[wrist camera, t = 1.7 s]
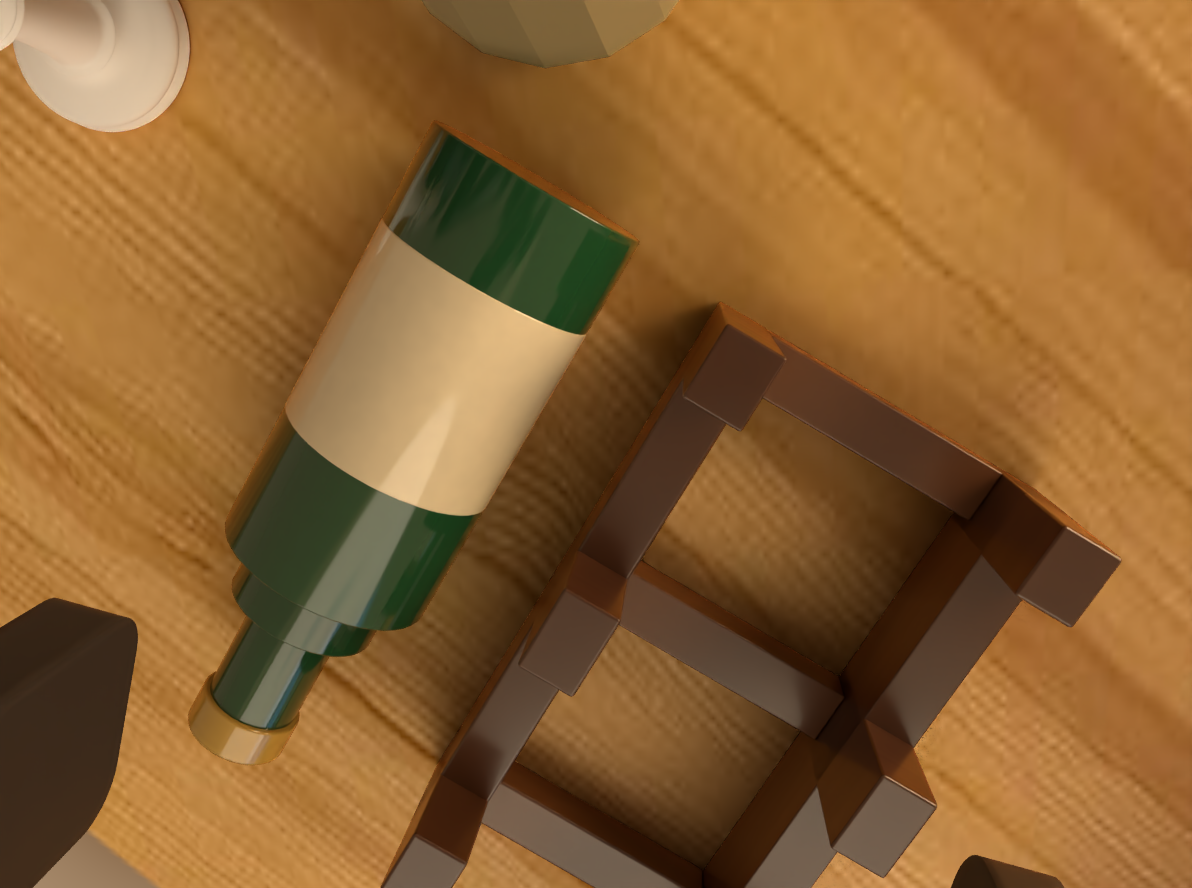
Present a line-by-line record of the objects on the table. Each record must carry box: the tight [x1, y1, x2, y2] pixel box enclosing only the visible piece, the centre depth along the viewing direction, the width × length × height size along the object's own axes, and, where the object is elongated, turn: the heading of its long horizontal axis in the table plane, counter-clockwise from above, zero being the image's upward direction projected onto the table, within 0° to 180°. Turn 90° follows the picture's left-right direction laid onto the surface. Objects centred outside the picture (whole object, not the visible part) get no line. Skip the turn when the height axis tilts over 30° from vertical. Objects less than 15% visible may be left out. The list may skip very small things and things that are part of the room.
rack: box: [381, 302, 1122, 888], centre depth 30 cm, size 11×17×6 cm, turn 150°
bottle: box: [188, 120, 640, 765], centre depth 29 cm, size 18×6×6 cm, turn 150°
